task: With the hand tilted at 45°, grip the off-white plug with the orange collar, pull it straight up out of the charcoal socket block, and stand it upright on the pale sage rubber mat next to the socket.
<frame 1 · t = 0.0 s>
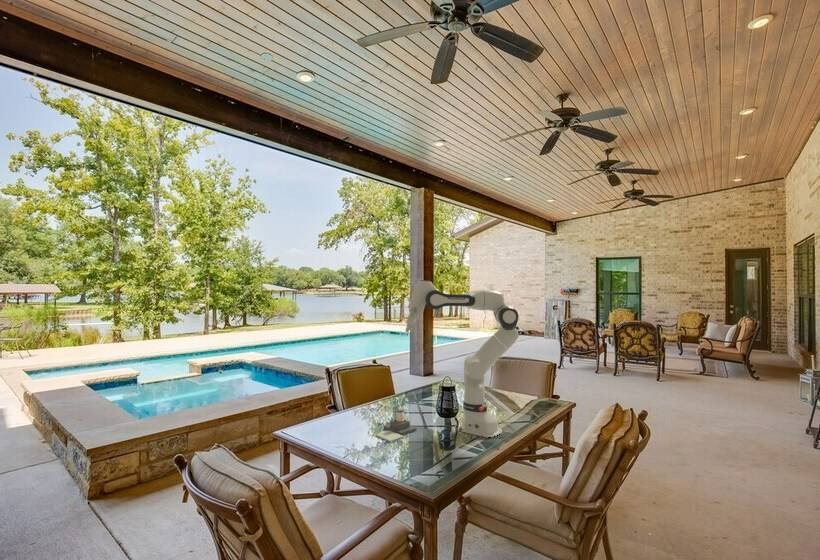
hand: (407, 330, 223), 52 cm above the table, tool tilted 20°, fingers open, 8 cm apart
socket: (399, 429, 214), on the table
mat: (389, 436, 203), on the table
plug: (399, 426, 214), point 1 cm above the table, touching socket
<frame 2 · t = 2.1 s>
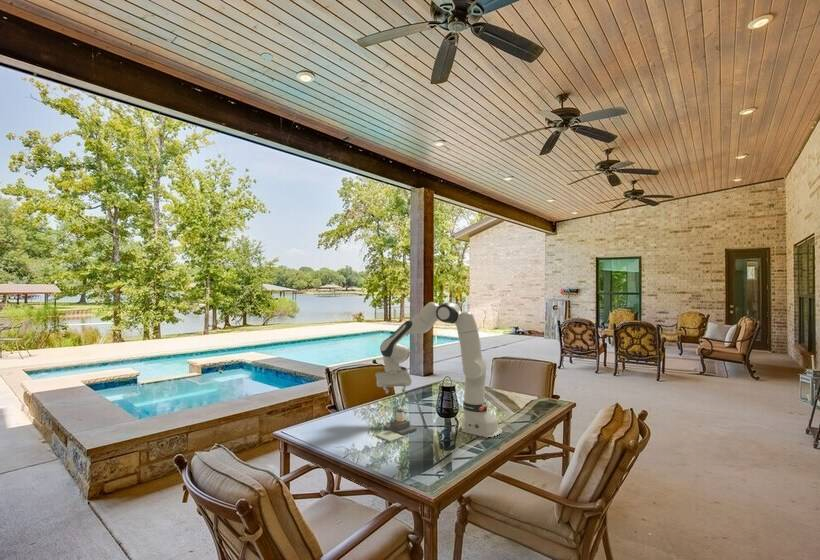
hand: (395, 392, 226), 17 cm above the table, tool tilted 45°, fingers open, 8 cm apart
nothing on the table moved.
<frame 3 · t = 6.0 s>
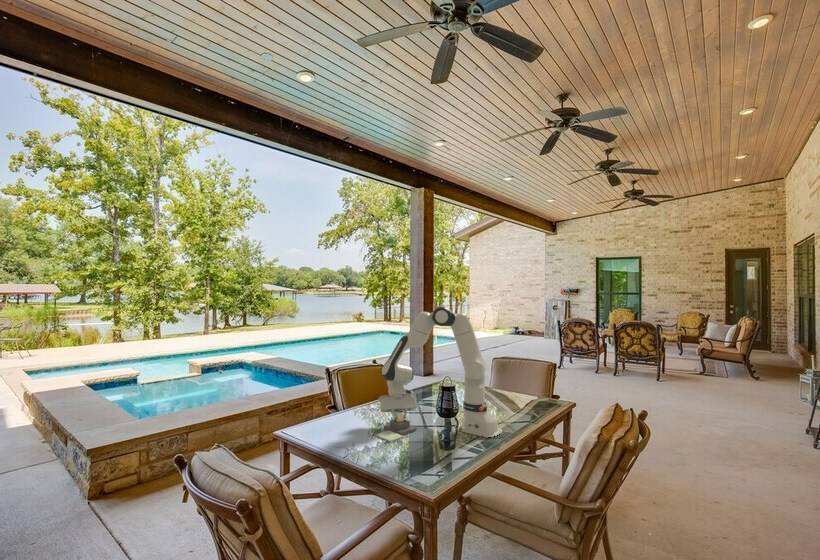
hand: (400, 418, 213), 6 cm above the table, tool tilted 45°, fingers closed on plug, 4 cm apart
plug: (399, 426, 214), point 1 cm above the table, touching gripper, socket
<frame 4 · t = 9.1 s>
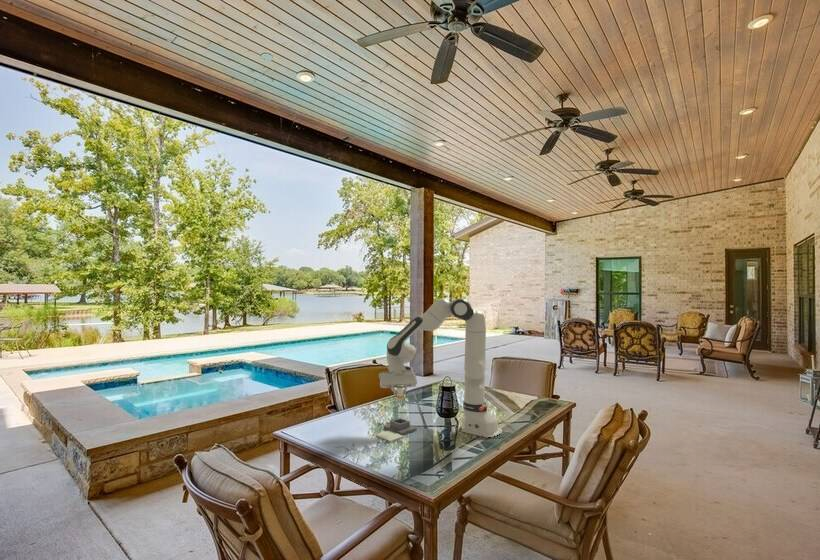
hand: (400, 393, 213), 19 cm above the table, tool tilted 45°, fingers closed on plug, 4 cm apart
plug: (399, 402, 214), point 15 cm above the table, touching gripper
when the fingers open (7 cm above the table, at t = 12.4 s): plug drops 1 cm, resting on mat.
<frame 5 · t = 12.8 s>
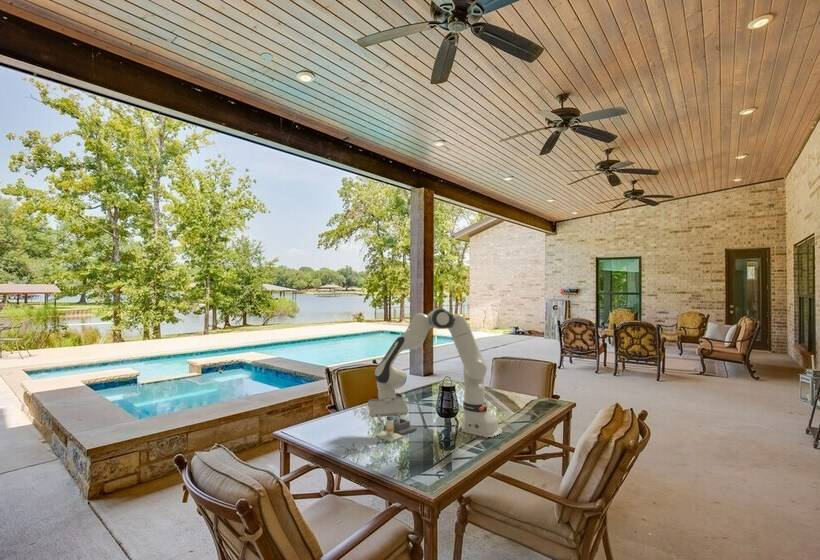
hand: (390, 423, 203), 7 cm above the table, tool tilted 45°, fingers open, 7 cm apart
plug: (389, 435, 203), point 1 cm above the table, touching mat
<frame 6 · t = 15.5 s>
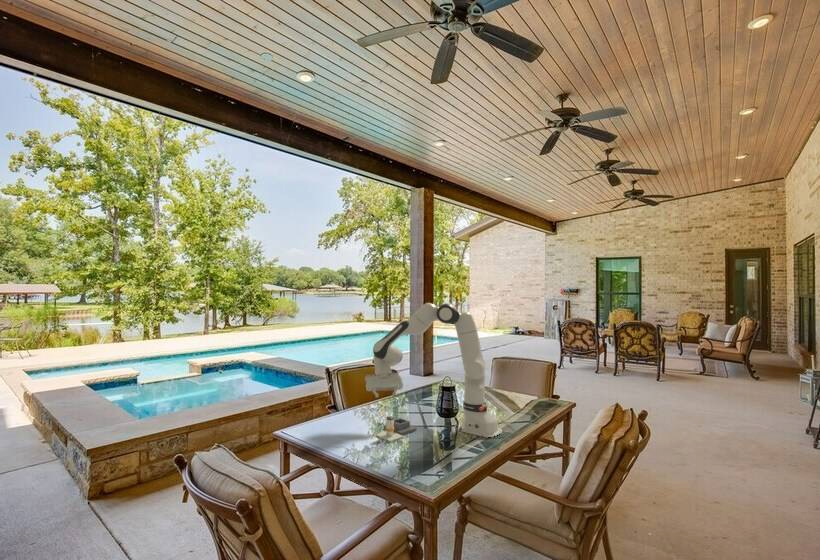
hand: (385, 396, 215), 17 cm above the table, tool tilted 45°, fingers open, 8 cm apart
nothing on the table moved.
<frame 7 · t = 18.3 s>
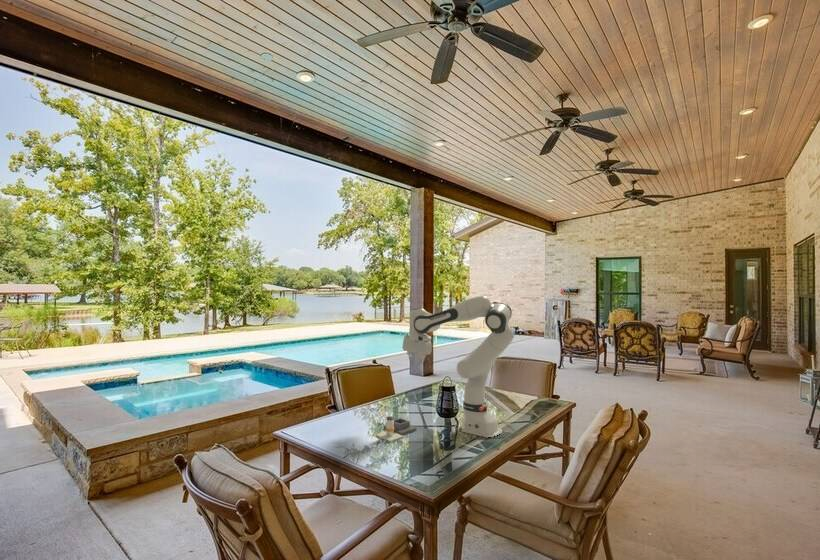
hand: (416, 360, 230), 34 cm above the table, tool pointing down, fingers open, 8 cm apart
nothing on the table moved.
at the end: plug inside the target area on the mat (0.1 cm from its centre), point 0.8 cm above the mat's base; plug tilted 1°; the gripper is holding nothing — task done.
